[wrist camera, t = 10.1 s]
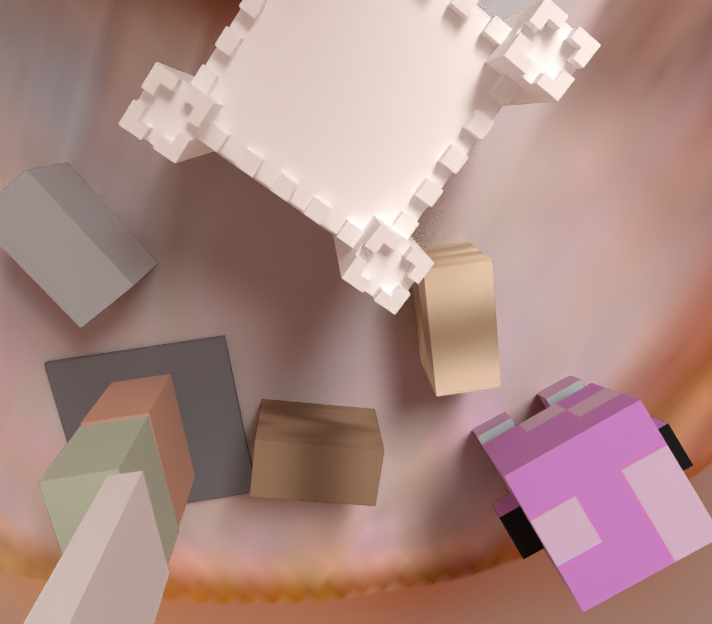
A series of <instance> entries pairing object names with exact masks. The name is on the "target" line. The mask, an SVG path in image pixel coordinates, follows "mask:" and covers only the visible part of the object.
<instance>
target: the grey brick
mask: <svg viewBox="0 0 712 624" xmlns="http://www.w3.org/2000/svg"><path fill="white" fill-rule="evenodd" d="M0 246H1V247H2V248H3V249H4V250H5V251H6V252H7V253H8V254H9V255H10V257H11V258H12V259H13V260H14V261H15V262H16V263H17V264H18V265H19V266H20V267H21V268H22V269H23V270H24V271H25V272H26V273H27V274H28V275H29V276H30V277H31V278H32V279H33V280H34V281H35V282H36V283H37V284H38V285H39V286H40V287H41V288H42V289H43V290H44V291H45V292H46V293H47V294H48V295H49V296H50V297H51V298H52V299H53V300H54V301H55V302H56V303H57V304H58V305H59V306H60V308H61V309H62V310H63V311H64V312H65V313H66V314H67V315H68V316H69V317H70V318H71V319H72V320H73V321H74V322H75V323H76V324H77V325H78V326H79V327H80V328H82V327H83V326H84V325H85V324H87V323H88V322H89V321H90V320H92V319H93V318H94V317H95V316H97V315H98V314H99V313H100V312H101V311H103V310H104V309H105V308H106V307H108V306H109V305H110V304H111V303H113V302H114V301H115V300H116V299H118V298H119V297H120V296H121V295H122V294H124V293H125V292H126V291H127V290H129V289H130V288H131V287H132V286H134V285H135V284H136V283H137V282H138V281H139V280H140V279H141V278H142V277H143V276H144V275H146V274H147V273H148V272H149V271H150V270H151V269H152V268H153V267H154V266H155V265H156V264H158V262H157V261H156V260H155V259H154V258H153V257H152V255H151V254H150V253H149V252H148V251H147V250H146V249H145V248H144V247H143V245H142V244H141V243H140V242H139V241H138V240H137V239H136V238H135V237H134V235H133V234H132V233H131V232H130V231H129V230H128V229H127V228H126V227H125V225H124V224H123V223H122V222H121V221H120V220H119V219H118V218H117V217H116V216H115V214H114V213H113V212H112V211H111V210H110V209H109V208H108V207H107V206H106V204H105V203H104V202H103V201H102V200H101V199H100V198H99V197H98V196H97V194H96V193H95V192H94V191H93V190H92V189H91V188H90V187H89V186H88V184H87V183H86V182H85V181H84V180H83V179H82V178H81V177H80V176H79V175H78V173H77V172H76V171H75V170H74V169H73V168H72V167H71V166H70V165H69V163H64V164H58V165H52V166H47V167H41V168H35V169H29V170H26V171H24V172H23V173H22V174H21V175H20V176H19V177H18V178H16V179H15V180H14V181H13V182H12V183H11V184H9V185H8V186H7V187H6V188H5V189H4V190H2V191H1V192H0Z"/></svg>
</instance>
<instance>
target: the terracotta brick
mask: <svg viewBox="0 0 712 624" xmlns="http://www.w3.org/2000/svg"><path fill="white" fill-rule="evenodd" d="M146 415H149V419H150V423H151V426H152V430H153V434H154V438H155V442H156V445H157V449H158V453H159V457H160V460H161V464H162V468H163V472H164V475H165V479H166V483H167V487H168V490H169V494H170V498H171V502H172V506H173V509H174V513H175V517H176V521H177V524H178V527H179V524H180V521H181V518H182V515H183V512H184V509H185V506H186V503H187V500H188V497H189V494H190V490H191V487H192V484H193V481H194V478H195V474H194V470H193V466H192V462H191V457H190V453H189V449H188V445H187V440H186V436H185V432H184V428H183V424H182V419H181V415H180V411H179V407H178V402H177V398H176V394H175V390H174V385H173V381H172V377H171V374H166V375H159V376H152V377H145V378H139V379H132V380H125V381H118V382H112V383H111V384H110V385H109V387H108V388H107V389H106V391H105V392H104V393H103V394H102V396H101V397H100V398H99V400H98V401H97V402H96V404H95V405H94V406H93V407H92V409H91V410H90V411H89V413H88V414H87V415H86V417H85V418H84V419H83V421H82V422H81V426H83V425H89V424H96V423H102V422H108V421H115V420H121V419H127V418H133V417H140V416H146Z"/></svg>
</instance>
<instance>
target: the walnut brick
mask: <svg viewBox="0 0 712 624" xmlns="http://www.w3.org/2000/svg"><path fill="white" fill-rule="evenodd" d="M383 455H384V447H383V443H382V438H381V434H380V429H379V425H378V420H377V416H376V412H375V409H367V408H356V407H345V406H334V405H323V404H312V403H301V402H289V401H278V400H267V399H262V403H261V409H260V415H259V420H258V426H257V432H256V437H255V446H254V457H253V467H252V478H251V488H250V497H259V498H272V499H286V500H299V501H313V502H326V503H340V504H353V505H367V506H375V505H376V499H377V493H378V486H379V480H380V474H381V467H382V461H383Z"/></svg>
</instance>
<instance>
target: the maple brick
mask: <svg viewBox="0 0 712 624" xmlns="http://www.w3.org/2000/svg"><path fill="white" fill-rule="evenodd" d="M422 250H423V251H424V252H425V253H426V254H427V255H428V256H429V258H430V259H431V260H432V261H433V262H434V265H433V266H432V267H431V268H430V270H429V271H428V272H427V274H426V275H425V276H424V278H423V279H422V280H421V282H420V283H419V284H418V283H416V282H414V283H413V285H412V288H413V298H414V307H415V316H416V325H417V334H418V343H419V352H420V361H421V364H422V366H423V368H424V370H425V372H426V375H427V377H428V379H429V381H430V383H431V386H432V388H433V390H434V392H435V394H436V397H438V396H445V395H452V394H458V393H465V392H471V391H478V390H485V389H491V388H498V387H501V380H500V365H499V351H498V337H497V322H496V308H495V293H494V279H493V265H492V260H491V259H490V258H489V257H487V256H486V255H485V254H484V253H482V252H481V251H480V250H478V249H477V248H476V247H474V246H473V245H472V244H471V243H469V242H468V241H467V242H460V243H453V244H446V245H439V246H432V247H425V248H422Z"/></svg>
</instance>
